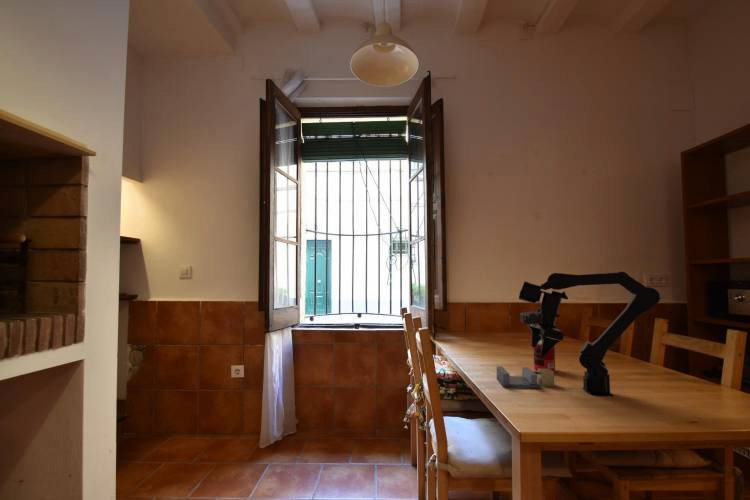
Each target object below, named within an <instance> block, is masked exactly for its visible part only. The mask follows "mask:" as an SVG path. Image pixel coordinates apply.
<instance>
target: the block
mask: <svg viewBox="0 0 750 500" xmlns="http://www.w3.org/2000/svg"><path fill="white" fill-rule="evenodd" d="M537 382H538V383H539V384H540V385H541V386H542V387H550V388H551V387H552V388H553V387H555V371H554V372H553V371H552V370H550V369H538V374H537Z"/></svg>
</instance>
